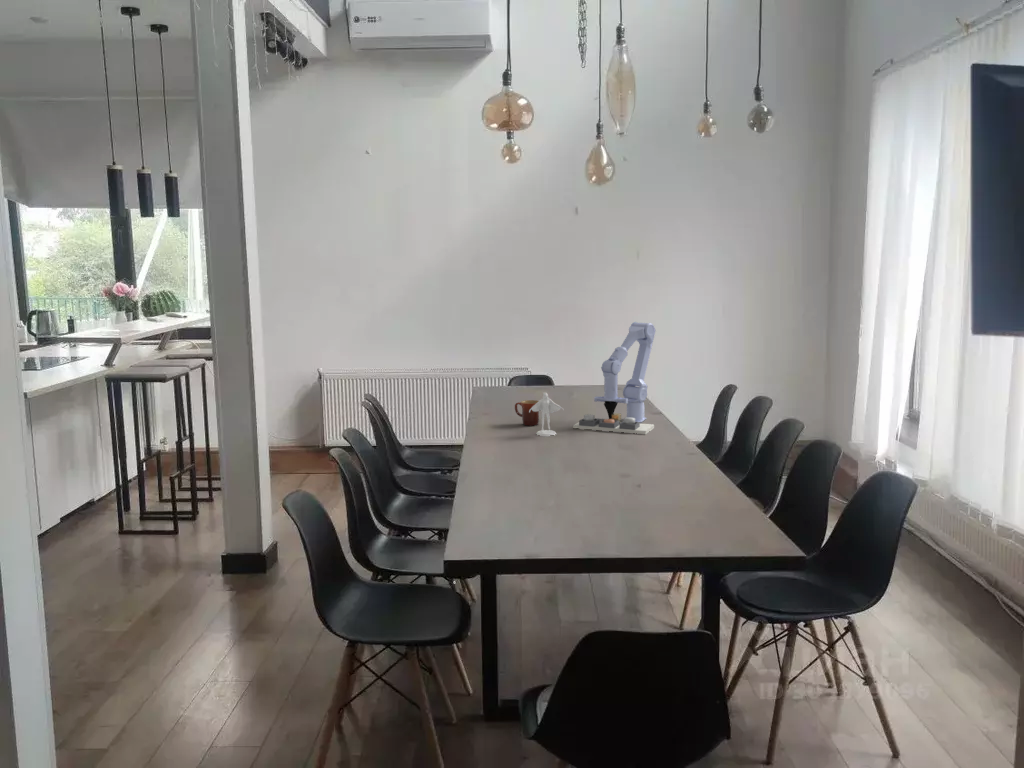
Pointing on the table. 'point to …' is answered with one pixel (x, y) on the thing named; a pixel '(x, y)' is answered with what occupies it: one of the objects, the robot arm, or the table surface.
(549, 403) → the figurine
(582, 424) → the panel
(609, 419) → the terracotta button
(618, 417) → the brass slider
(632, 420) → the grey button
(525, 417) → the mug
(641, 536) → the table surface
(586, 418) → the grey button
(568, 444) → the table surface
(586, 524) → the table surface
